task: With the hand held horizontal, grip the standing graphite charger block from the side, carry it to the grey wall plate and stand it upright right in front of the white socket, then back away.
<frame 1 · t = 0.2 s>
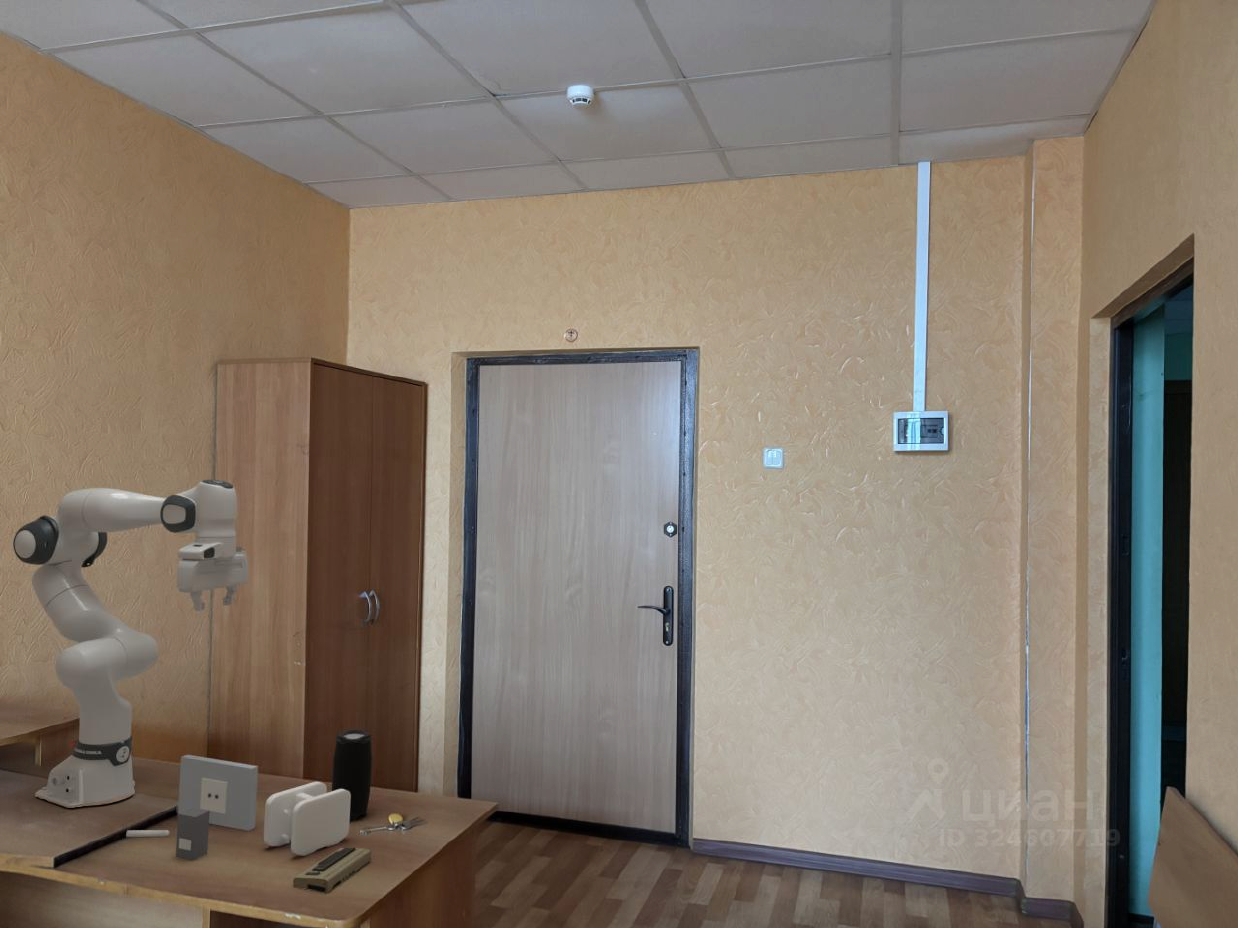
hand: (213, 607, 210), 49 cm above the table, tool pointing down, fingers open, 8 cm apart
computer: (333, 876, 183), on the table
outlet plate: (215, 822, 206), on the table
cable organizer: (305, 845, 196), on the table
charger: (191, 854, 188), on the table
white rod: (146, 836, 197), on the table
portable speaker: (349, 816, 214), on the table
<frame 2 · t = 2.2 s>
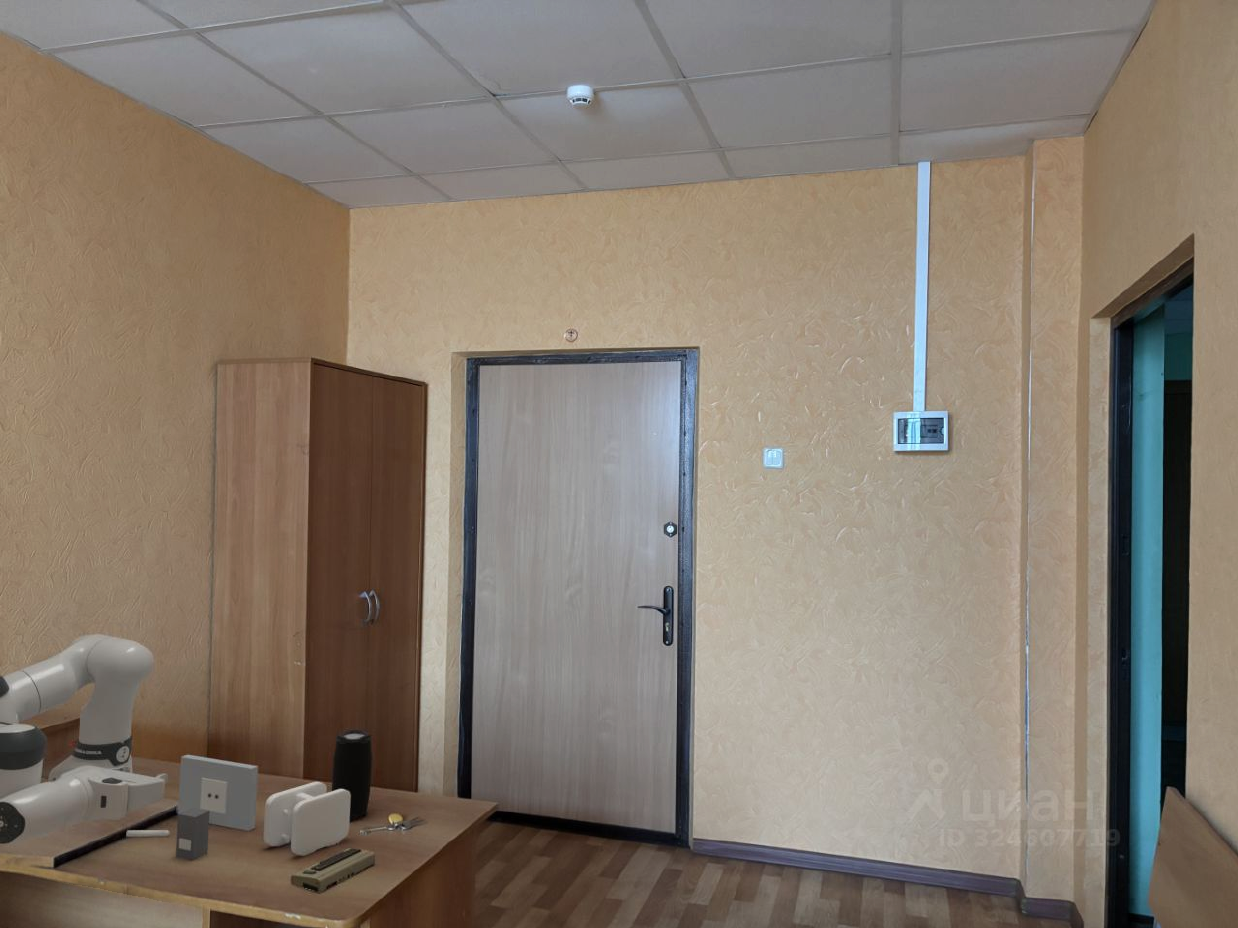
hand: (146, 773, 177), 21 cm above the table, tool horizontal, fingers open, 8 cm apart
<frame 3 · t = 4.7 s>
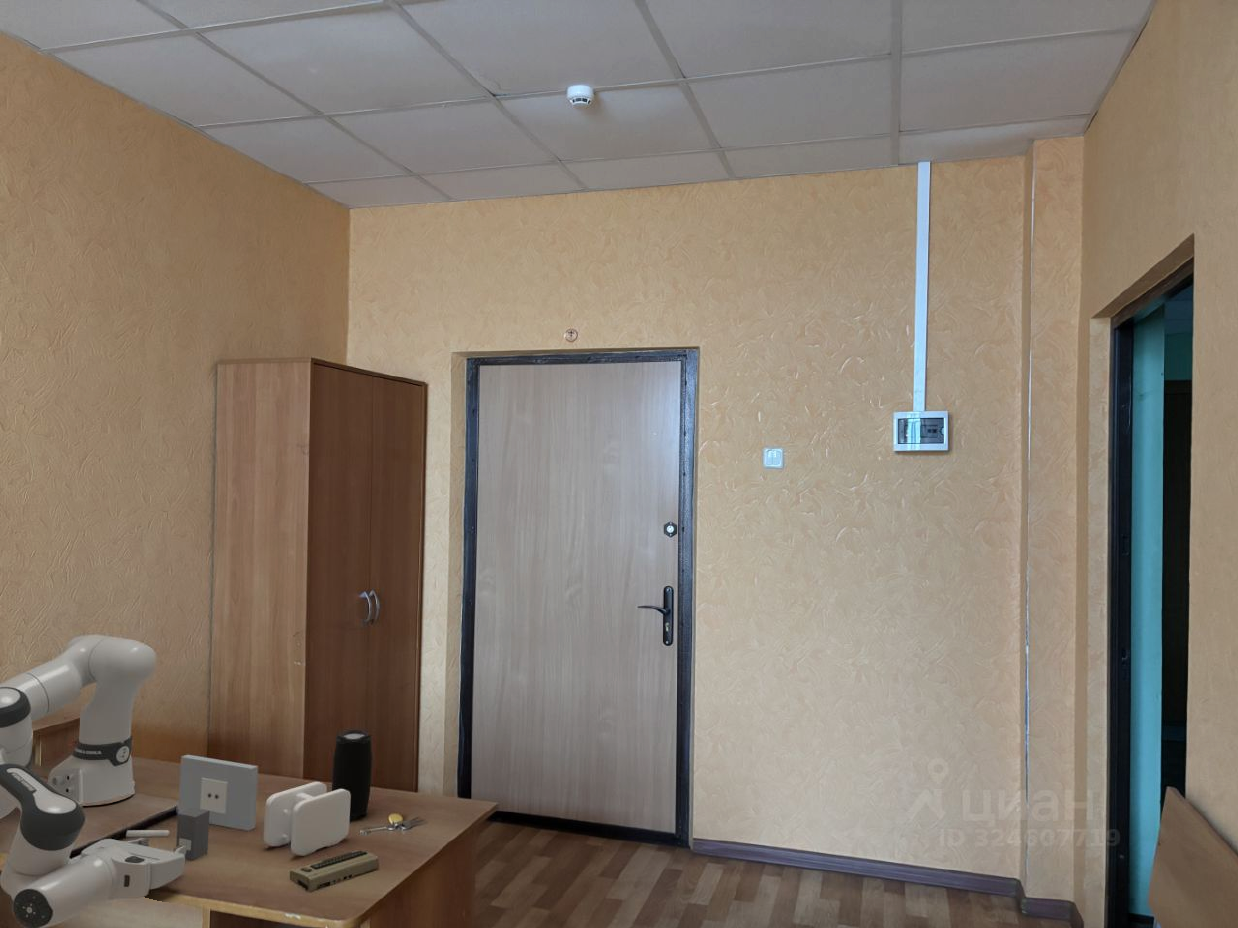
hand: (164, 845, 181), 5 cm above the table, tool horizontal, fingers open, 8 cm apart
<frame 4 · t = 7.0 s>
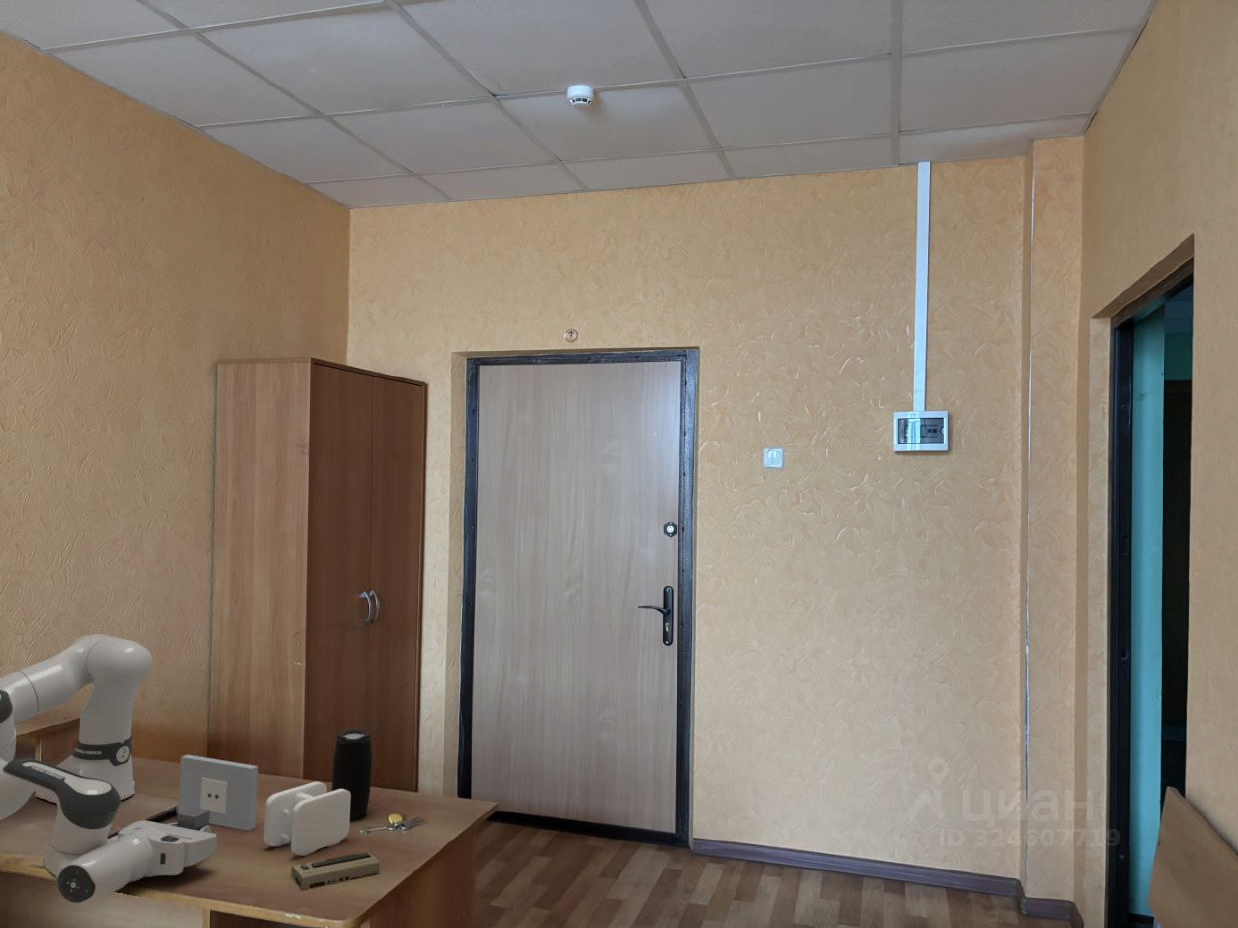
hand: (196, 826, 189), 6 cm above the table, tool horizontal, fingers closed on charger, 4 cm apart
charger: (191, 854, 188), on the table, touching gripper
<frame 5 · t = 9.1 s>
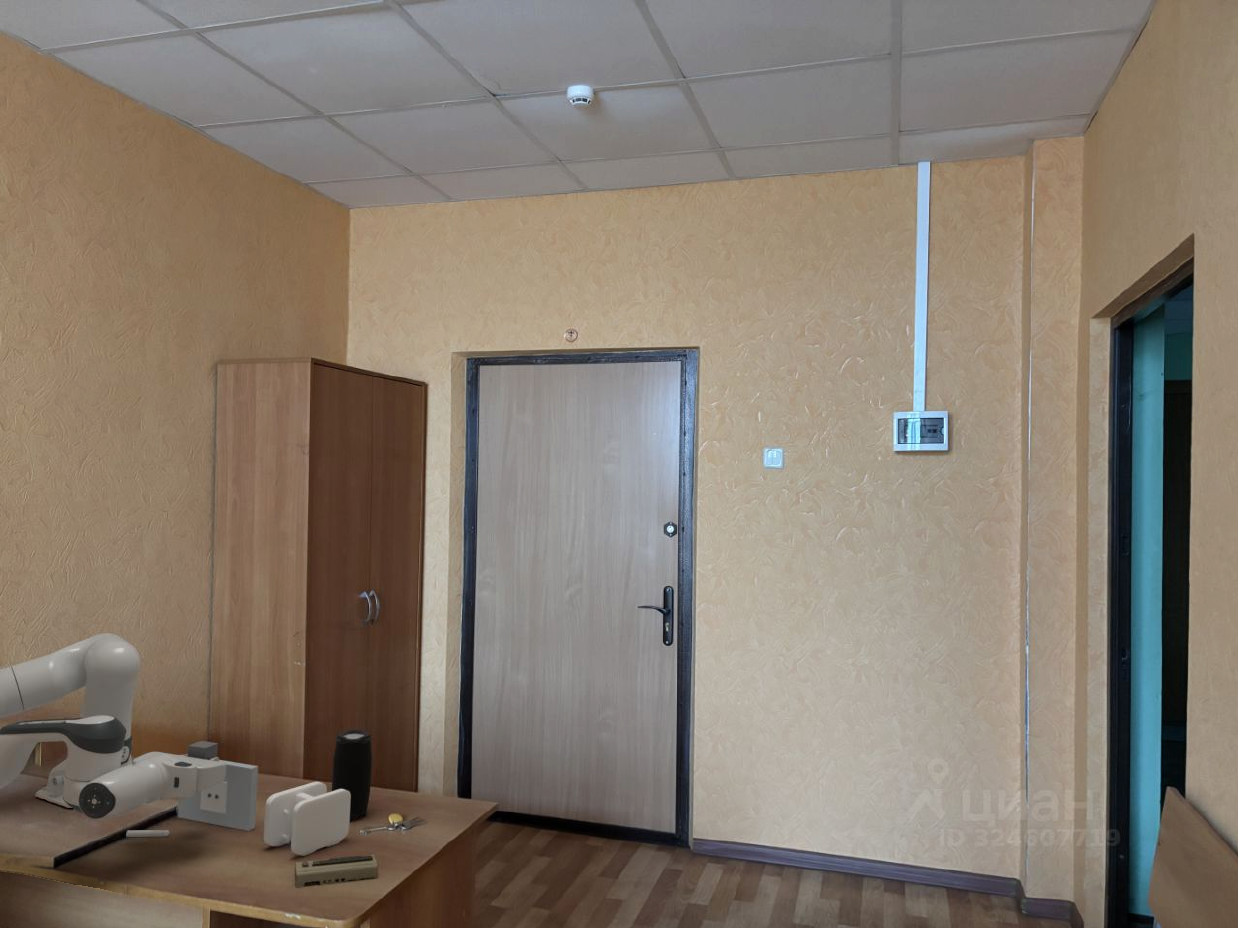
hand: (205, 758, 200), 17 cm above the table, tool horizontal, fingers closed on charger, 4 cm apart
charger: (200, 784, 199), point 11 cm above the table, touching gripper
when the fingers open (6 cm above the table, at t = 11.7 s): charger stays where it is, on the table.
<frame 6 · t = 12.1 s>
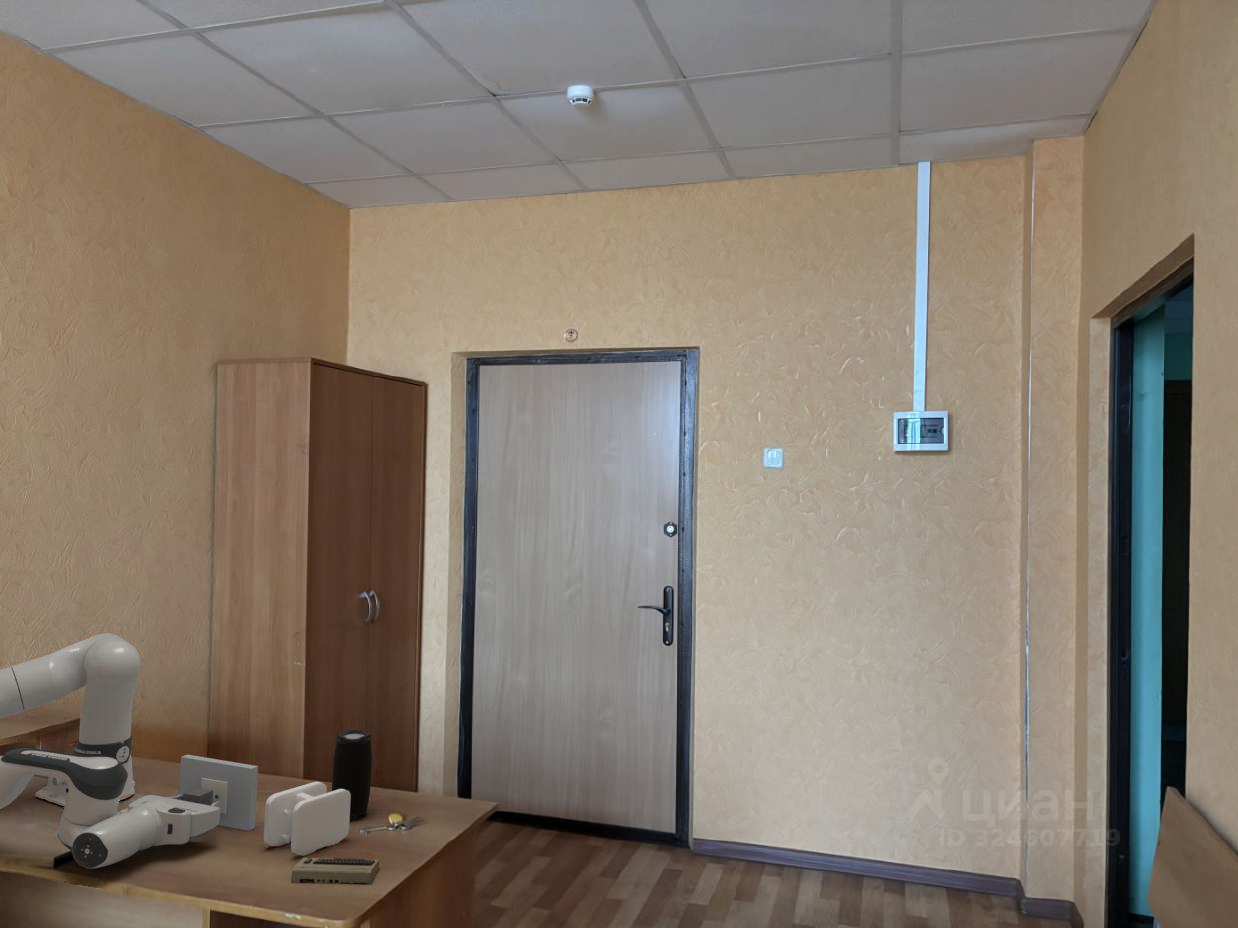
hand: (200, 801, 201), 6 cm above the table, tool horizontal, fingers open, 8 cm apart
charger: (196, 831, 200), on the table
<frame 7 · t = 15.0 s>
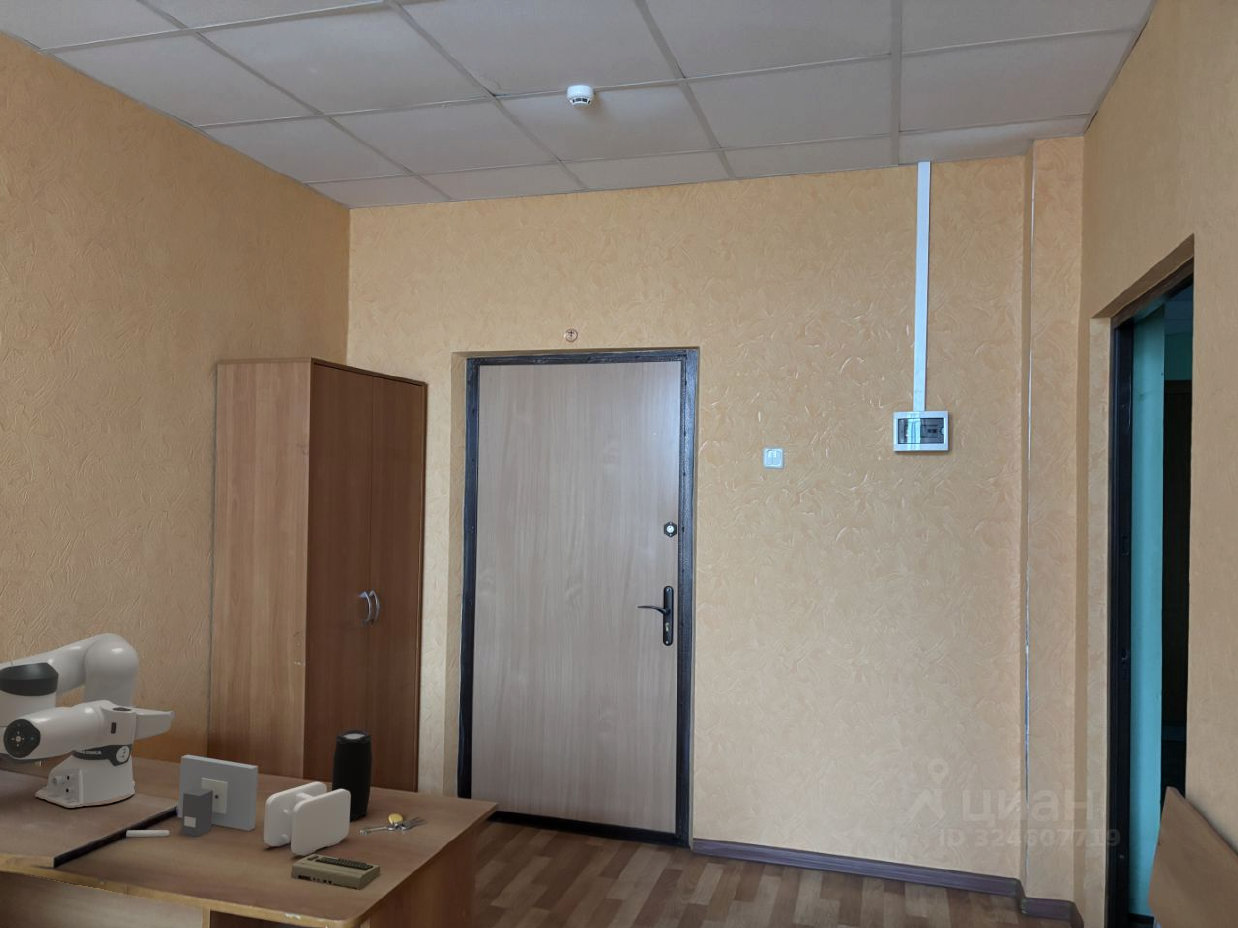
hand: (155, 712, 188), 30 cm above the table, tool horizontal, fingers open, 8 cm apart
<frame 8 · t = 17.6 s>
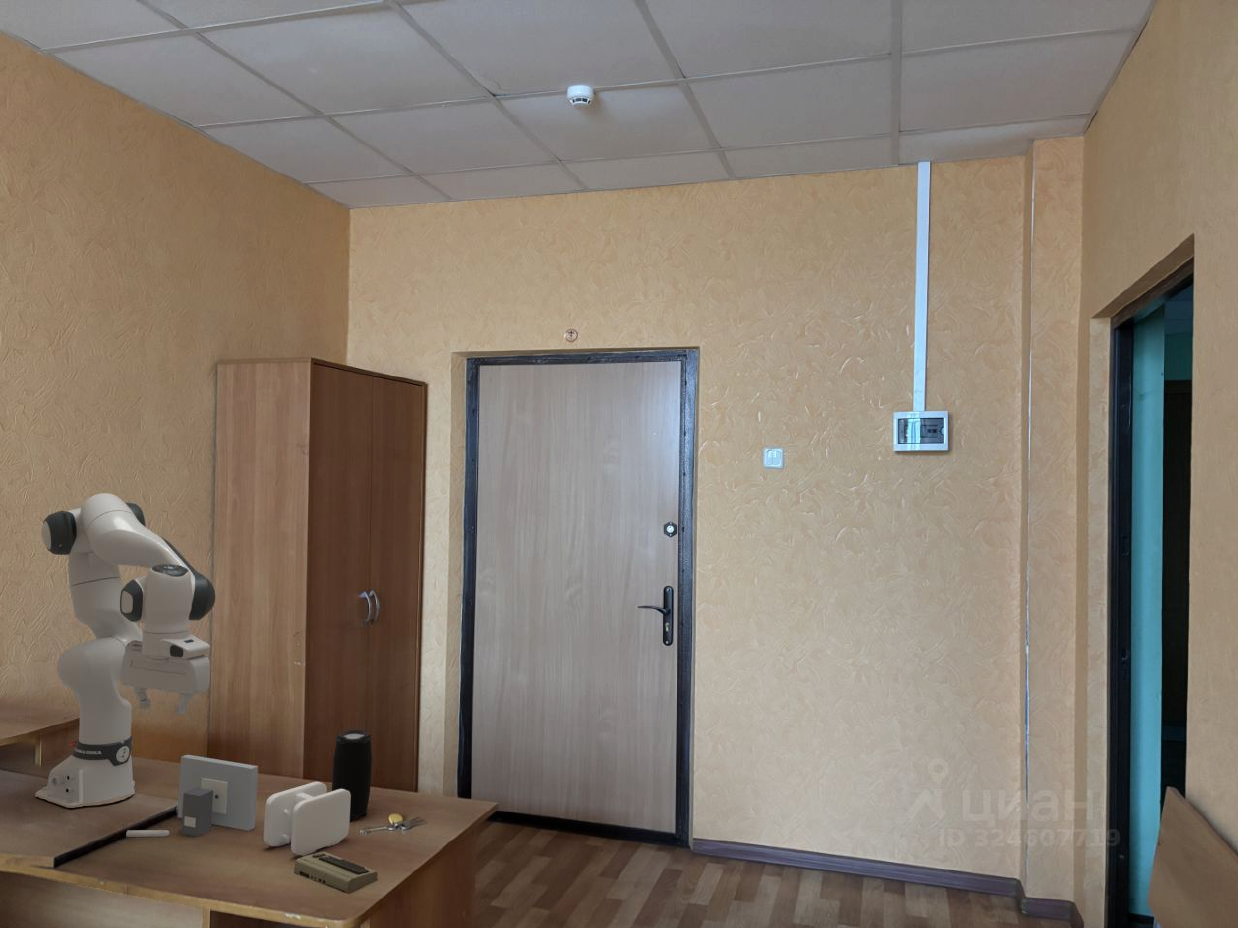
hand: (162, 711, 185), 31 cm above the table, tool pointing down, fingers open, 8 cm apart
at the end: charger inside the target area on the table beside the outlet plate (0.2 cm from its centre), on the table; charger tilted 0°; the gripper is holding nothing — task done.
